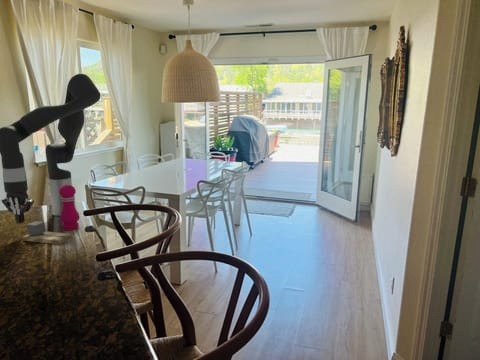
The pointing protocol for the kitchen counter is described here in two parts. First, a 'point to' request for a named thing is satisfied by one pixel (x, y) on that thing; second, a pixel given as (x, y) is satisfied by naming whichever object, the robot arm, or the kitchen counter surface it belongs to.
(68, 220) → the pepper mill
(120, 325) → the kitchen counter surface
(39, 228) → the selector knob
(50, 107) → the robot arm
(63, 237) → the selector board
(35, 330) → the kitchen counter surface
